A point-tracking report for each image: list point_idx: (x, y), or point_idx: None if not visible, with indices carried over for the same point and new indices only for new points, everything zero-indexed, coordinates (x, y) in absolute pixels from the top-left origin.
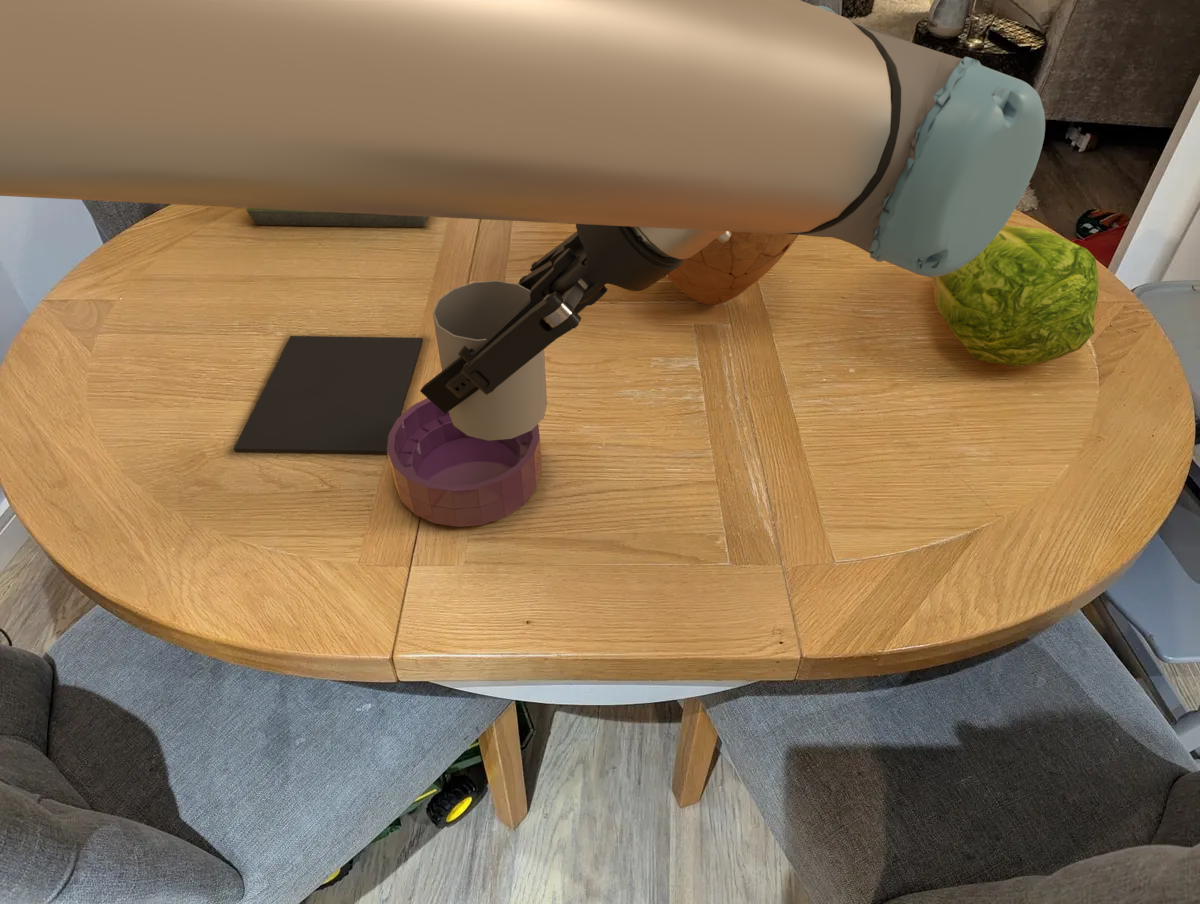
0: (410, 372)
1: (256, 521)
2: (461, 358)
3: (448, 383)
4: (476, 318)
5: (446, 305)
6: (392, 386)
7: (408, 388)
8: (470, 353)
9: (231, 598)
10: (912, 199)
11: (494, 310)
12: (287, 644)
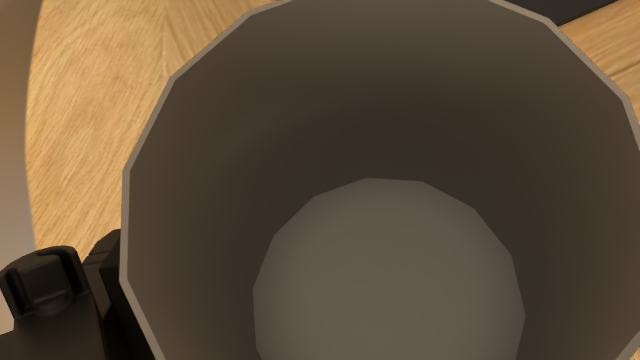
0: (595, 3)
1: (200, 27)
2: (113, 247)
3: (105, 240)
4: (498, 114)
5: (384, 13)
6: (542, 2)
7: (559, 25)
8: (52, 298)
9: (77, 89)
10: None
11: (555, 153)
12: (31, 198)
